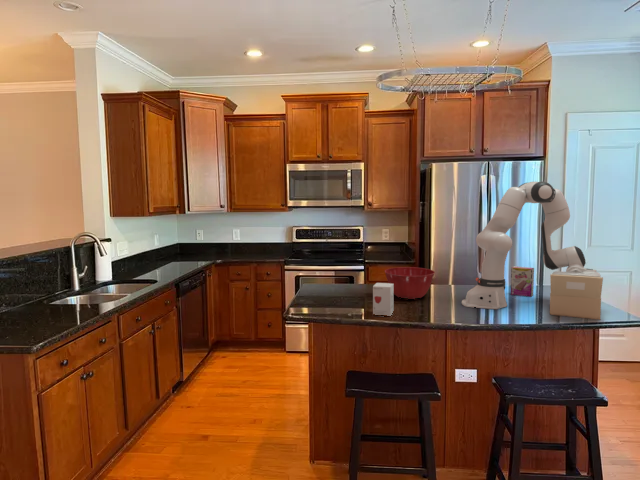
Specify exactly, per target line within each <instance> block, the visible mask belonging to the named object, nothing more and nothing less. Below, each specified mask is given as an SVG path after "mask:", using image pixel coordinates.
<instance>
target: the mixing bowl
mask: <svg viewBox="0 0 640 480" xmlns="http://www.w3.org/2000/svg"><path fill="white" fill-rule="evenodd" d="M384 273H385V276H386V280H387V283H390V284H394V295H395V296H396V297H397V298H399V297H401V298H408V299H414V300H416V299H415V298H420V299H421V298H424V296H425V295H426V294H427V293H428V291H429V289H430V288H431V287H430V286H431V285H432V282H433V279H434V275H435V271H434V270H433V269H430V268H424V267H414V266H413V267H411V266H410V267H408V266H405V267H403V266H402V267H392V268H391V267H390V268H387V269H385V270H384ZM401 298H400V299H401ZM408 299H407V300H408Z"/></svg>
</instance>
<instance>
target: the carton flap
mask: <svg viewBox="0 0 640 480" xmlns="http://www.w3.org/2000/svg"><path fill="white" fill-rule="evenodd" d="M549 279H550V293H551V295H558V296H570V297H582V298H594V299H601V300H602V291H603V282H604V277H602V276H601V277H587V276H571V275H554V274H552V273H550V278H549Z"/></svg>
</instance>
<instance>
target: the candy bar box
mask: <svg viewBox="0 0 640 480" xmlns="http://www.w3.org/2000/svg"><path fill="white" fill-rule="evenodd" d="M510 271H511V273H510V274H511V275H510V295H511V296H518V297H525V298H527V297H528V298H532V297H534V288H535V287H534V284H535V283H534V281H535V279H534V277H535V268H534V267H529V266H528V267H527V266H515V265H514V266H511V270H510Z"/></svg>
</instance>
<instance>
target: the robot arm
mask: <svg viewBox="0 0 640 480" xmlns="http://www.w3.org/2000/svg"><path fill="white" fill-rule="evenodd" d="M526 203H527V204H529V203H531V204H538V203H540V205H541V206H542V209H543V212H544V218H545V219H544V221H543V222H542V223H541V225H540V227H541V228H540V229H541V230H540V231H541V240H542V249H543V250H542V251H543V258H542V260H543V261H542V262H543V264H544V266H545V268H547V269H549V270H552V271H553V272H552V273H551V274H554V275H571V276H587V277H602V276H601V274H600V273H599V272H597V269H593V268H586V267H585V265H586V264H587V262H586V257H585V255H584V252H583V250H582V249H581V248H580V247H578V246H576V245H573V246H568V247H565V248H560V249H556V250H553V249H552V240H551V236H552V234H553V233H554V232H555V231H557V230H559V229H560V228H562V227H564V225H566V224H567V223H568V221H569V220H570V217H571V211H570V208H569V205H568V202H567V199H566V198H565V195H564V194H563V192H562V190H561V189H559V188H554V186H553V185H551V184H550V183H548V182H546V181H530V182H525V183H522V184H520V185H519V186H511V187H509V188H508V189H507V190H506V191H505V193H504V194H503V196H502V198H501V199H500V201H499V203H498V205H497V208H496V209H495V212H494V213H493V215H492V217H491V219H490V220H489V221H488V222H487V224H486V225H485V227H484V228H483V229H482V231H480V232H479V233H478V234H477V236H476V238H475V241H476V242H475V243H476V245H477V246H478V247H479V248H480V249H482V250H483V251H485V256H484V258H483V261H482V263H481V277H476V278H475V281H476V282H477V284H476V285H475V286H474V287H472V288H470V289H469V290H468V291H467V292H466V296H465V299H462V300H461V305H462V306H464V307H466V308H474V307H476V308H477V309H486V310H487V309H488V310H499V309H502V308H506V307H508V304H507V303H508V302H507V298H506V293H505V292H506V291H505V290H506V279H505V272H506V271H505V269H506V267H505V265H506V260H507V257H508V254H509V251H510V250H511V249H512V247H513V240H512V238H511V237H510V236H509V235H508V234H507V232H508V231H509V230H510V229H512V228H513V227H514V225H515V224H516V222H517V220H518V217H519V216H520V213H521V211H522V210H523V207H524V206H525V204H526ZM565 267H566V269H565V271H561V270H559V269H561V268H565ZM554 270H559V271H554Z"/></svg>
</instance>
